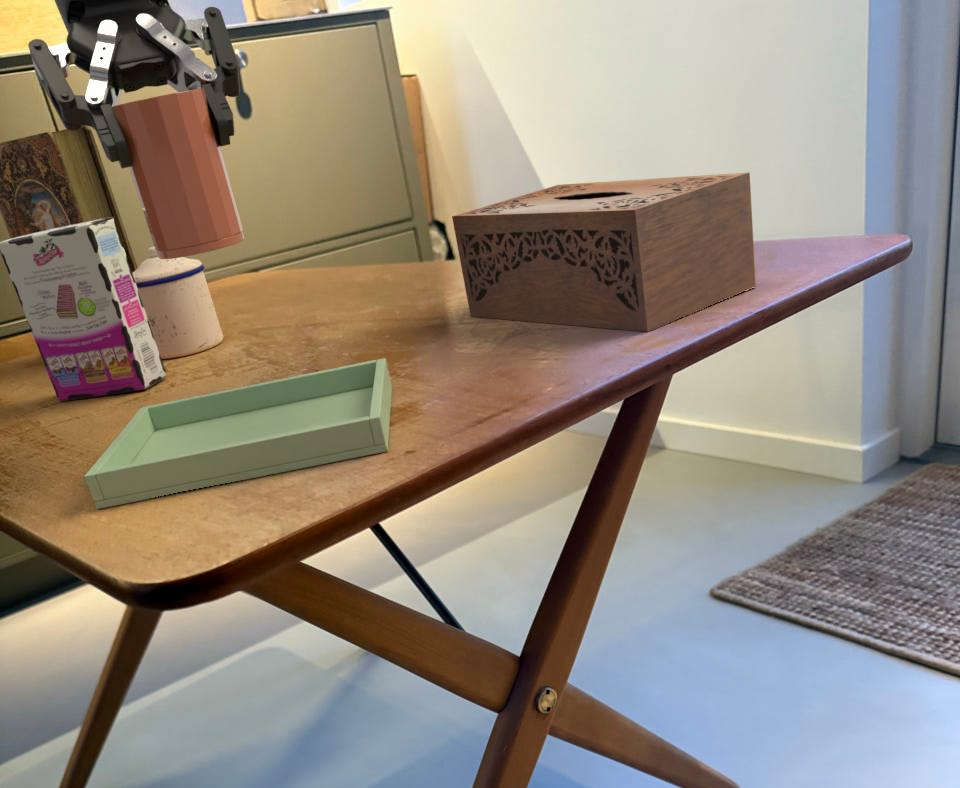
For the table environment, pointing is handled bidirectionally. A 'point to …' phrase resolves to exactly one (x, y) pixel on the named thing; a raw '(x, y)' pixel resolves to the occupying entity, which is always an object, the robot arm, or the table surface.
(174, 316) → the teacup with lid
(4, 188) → the book
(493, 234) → the tissue box cover
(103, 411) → the table surface
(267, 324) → the table surface
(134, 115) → the cup
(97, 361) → the candy bar box
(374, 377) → the tray
